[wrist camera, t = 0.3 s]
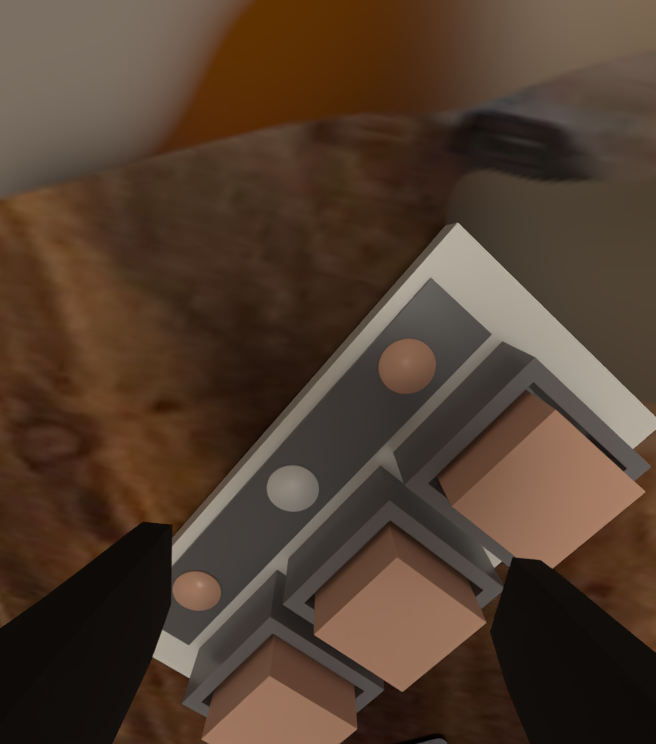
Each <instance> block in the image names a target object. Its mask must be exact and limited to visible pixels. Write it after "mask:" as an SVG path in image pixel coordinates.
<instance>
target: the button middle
mask: <svg viewBox="0 0 656 744" xmlns="http://www.w3.org/2000/svg"><path fill="white" fill-rule="evenodd" d="M486 623H487V622H486V620H485V618H484V615H483V613H482V611H481V609H480V606H479V604H478V602H477V599H476V597H475V595H474V593H473V590H472V588H471V586H470V584H469V581H468V579H467V577H465V576H464V575H463V574H461V573H460V572H459V571H457V570H456V569H455V568H453V567H452V566H451V565H449V564H448V563H447V562H445V561H444V560H443V559H441V558H440V557H439V556H437V555H436V554H435V553H433V552H432V551H431V550H429V549H428V548H427V547H425V546H424V545H423V544H421V543H420V542H419V541H417V540H416V539H415V538H413V537H412V536H411V535H409V534H408V533H407V532H405V531H404V530H403V529H401V528H400V527H399V526H397V525H396V524H395V523H393V522H392V521H391V520H390V521H389V522H388V523H387V524H386V525H385V526H384V527H383V528H381V529H380V530H379V531H378V532H377V533H376V534H375V535H374V536H373V537H372V538H371V539H370V540H369V541H368V542H367V543H366V544H365V545H364V546H363V547H362V548H361V549H360V550H359V551H358V552H357V553H356V554H354V555H353V556H352V557H351V558H350V559H349V560H348V561H347V562H346V563H345V564H344V565H343V566H342V567H341V568H340V569H339V570H338V571H337V572H336V573H335V574H334V575H333V576H332V577H331V578H330V579H329V580H327V581H326V582H325V583H324V584H323V585H322V586H321V587H320V588H319V589H318V590H317V591H316V592H315V611H314V635H315V636H317V637H318V638H320V639H321V640H323V641H324V642H326V643H327V644H329V645H331V646H332V647H334V648H335V649H337V650H338V651H340V652H341V653H343V654H345V655H346V656H348V657H349V658H351V659H352V660H354V661H355V662H357V663H358V664H360V665H362V666H363V667H365V668H366V669H368V670H369V671H371V672H372V673H374V674H376V675H377V676H379V677H380V678H382V679H383V680H385V681H386V682H388V683H389V684H391V685H393V686H394V687H396V688H397V689H399V690H400V691H402V692H403V691H404V690H405V689H407V688H408V687H409V686H410V685H411V684H413V683H414V682H415V681H416V680H417V679H419V678H420V677H421V676H422V675H424V674H425V673H426V672H427V671H428V670H430V669H431V668H432V667H433V666H434V665H436V664H437V663H438V662H439V661H441V660H442V659H443V658H444V657H445V656H447V655H448V654H449V653H450V652H451V651H453V650H454V649H455V648H456V647H458V646H459V645H460V644H461V643H462V642H464V641H465V640H466V639H467V638H469V637H470V636H471V635H472V634H473V633H475V632H476V631H477V630H478V629H479V628H481V627H482V626H483V625H484V624H486Z"/></svg>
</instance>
